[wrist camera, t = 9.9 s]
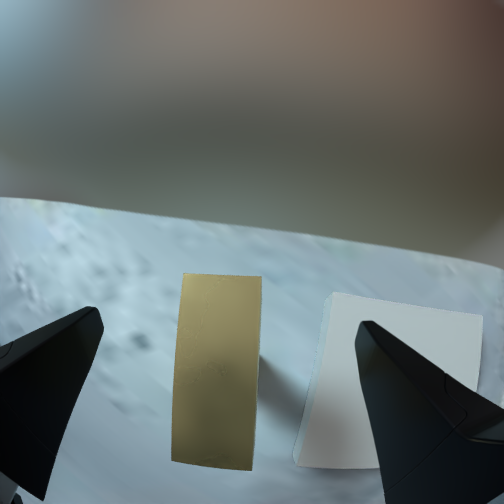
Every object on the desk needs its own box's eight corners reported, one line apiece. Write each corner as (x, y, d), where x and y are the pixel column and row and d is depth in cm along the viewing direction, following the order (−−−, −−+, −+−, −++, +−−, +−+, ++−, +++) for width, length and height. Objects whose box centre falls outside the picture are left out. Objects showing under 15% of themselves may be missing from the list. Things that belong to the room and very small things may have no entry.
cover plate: (444, 450, 14) (460, 456, 12) (292, 454, 16) (296, 466, 13) (465, 321, 19) (482, 315, 16) (325, 299, 20) (333, 291, 18)
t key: (258, 407, 17) (252, 470, 6) (224, 404, 17) (171, 460, 6) (262, 325, 19) (261, 276, 8) (228, 324, 20) (183, 273, 8)
